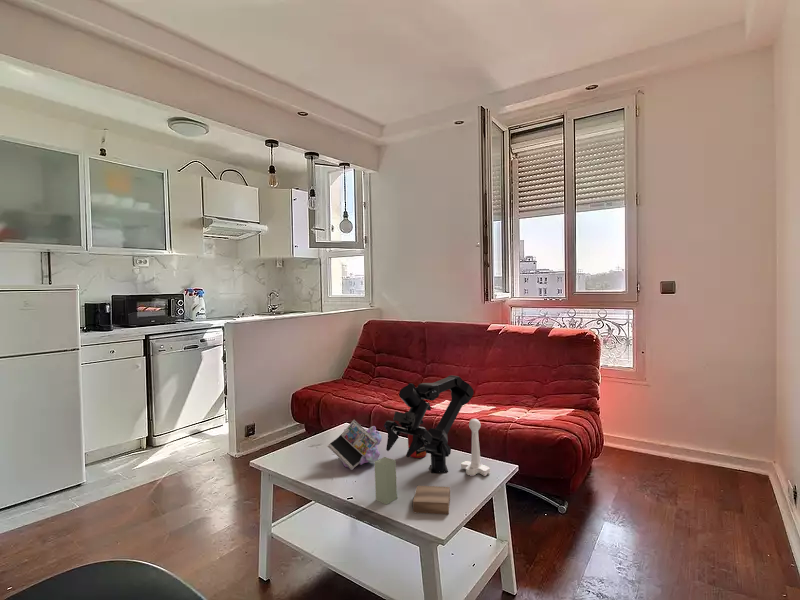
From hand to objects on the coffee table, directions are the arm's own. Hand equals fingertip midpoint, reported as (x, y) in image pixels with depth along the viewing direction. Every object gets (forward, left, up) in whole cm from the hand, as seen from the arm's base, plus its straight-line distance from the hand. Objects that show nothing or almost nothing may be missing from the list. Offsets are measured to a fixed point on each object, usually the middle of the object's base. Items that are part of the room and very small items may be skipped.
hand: (396, 453), depth 147 cm
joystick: (-14, +29, -14) cm, 35 cm away
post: (+4, -4, -14) cm, 15 cm away
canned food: (-33, +9, -14) cm, 37 cm away
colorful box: (-29, -16, -14) cm, 36 cm away
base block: (+9, +11, -14) cm, 20 cm away
